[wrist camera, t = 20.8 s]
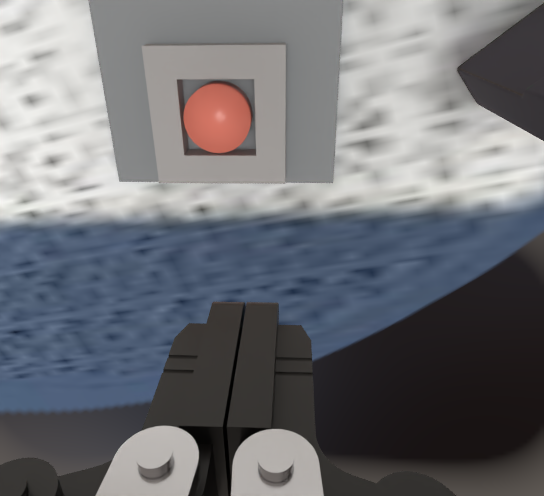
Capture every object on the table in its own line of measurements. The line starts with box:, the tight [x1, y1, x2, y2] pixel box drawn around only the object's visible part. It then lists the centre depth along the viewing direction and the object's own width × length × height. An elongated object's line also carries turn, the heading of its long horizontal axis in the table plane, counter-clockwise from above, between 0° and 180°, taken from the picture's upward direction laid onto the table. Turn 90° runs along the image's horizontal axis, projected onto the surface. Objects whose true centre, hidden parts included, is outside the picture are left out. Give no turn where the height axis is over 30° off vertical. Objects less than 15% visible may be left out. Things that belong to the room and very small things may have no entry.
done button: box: [183, 81, 253, 153], centre depth 32 cm, size 4×4×2 cm
